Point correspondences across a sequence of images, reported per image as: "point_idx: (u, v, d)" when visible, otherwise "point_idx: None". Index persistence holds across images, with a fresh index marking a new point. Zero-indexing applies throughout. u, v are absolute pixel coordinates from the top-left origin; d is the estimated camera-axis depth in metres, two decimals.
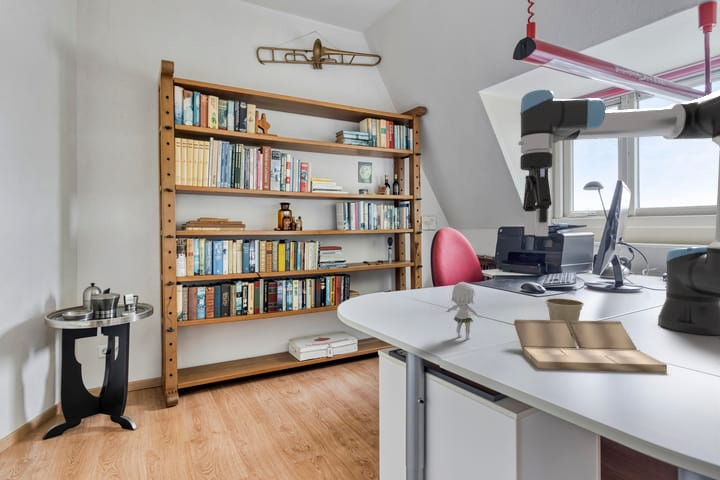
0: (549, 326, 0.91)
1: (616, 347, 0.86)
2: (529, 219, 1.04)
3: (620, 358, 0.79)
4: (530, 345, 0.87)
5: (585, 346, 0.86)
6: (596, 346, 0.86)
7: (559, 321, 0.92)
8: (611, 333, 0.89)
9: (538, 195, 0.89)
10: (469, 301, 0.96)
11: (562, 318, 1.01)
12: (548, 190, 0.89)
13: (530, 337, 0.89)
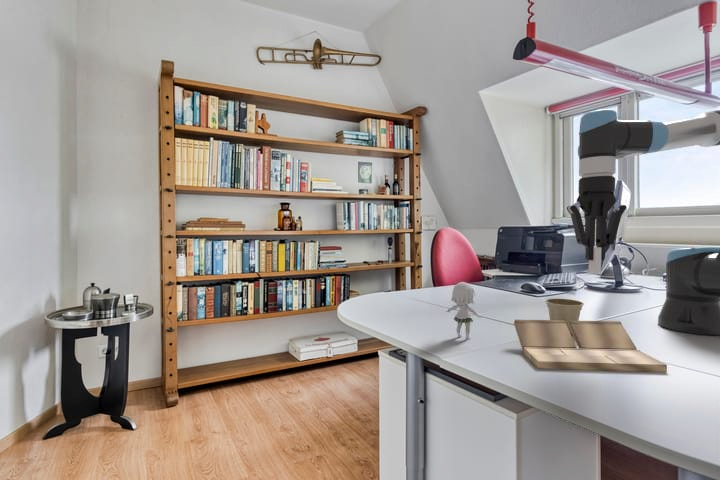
0: (549, 326, 0.91)
1: (616, 347, 0.86)
2: None
3: (620, 358, 0.79)
4: (530, 345, 0.87)
5: (585, 346, 0.86)
6: (596, 346, 0.86)
7: (559, 321, 0.92)
8: (611, 333, 0.89)
9: None
10: (469, 301, 0.96)
11: (562, 318, 1.01)
12: (578, 229, 0.91)
13: (530, 337, 0.89)
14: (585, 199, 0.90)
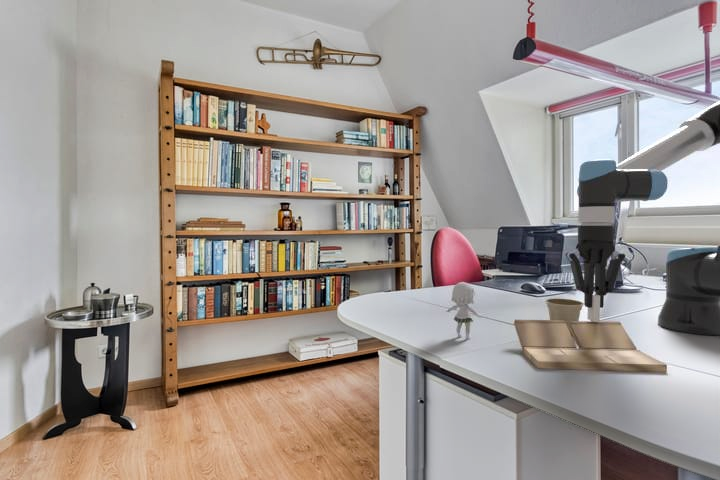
0: (549, 326, 0.91)
1: (616, 347, 0.86)
2: None
3: (620, 358, 0.79)
4: (530, 345, 0.87)
5: (585, 346, 0.86)
6: (596, 346, 0.86)
7: (559, 321, 0.92)
8: (611, 333, 0.89)
9: None
10: (469, 301, 0.96)
11: (562, 318, 1.01)
12: (577, 277, 0.91)
13: (530, 337, 0.89)
14: (584, 247, 0.91)
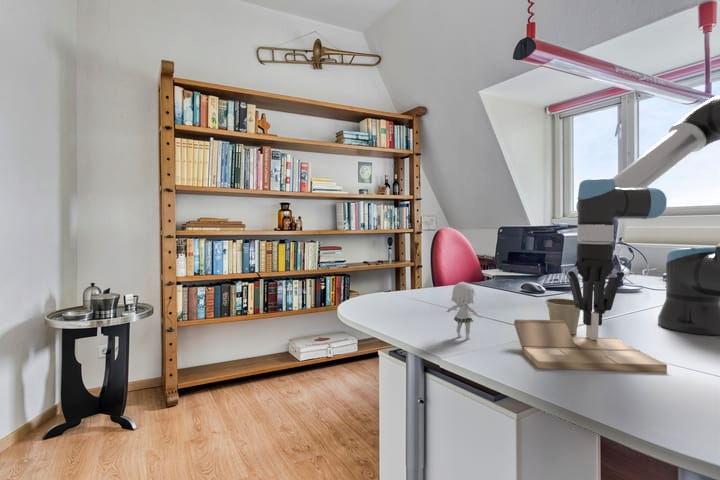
0: (549, 326, 0.91)
1: (616, 348, 0.86)
2: None
3: (620, 358, 0.79)
4: (530, 345, 0.87)
5: (585, 348, 0.86)
6: (596, 348, 0.86)
7: (559, 321, 0.92)
8: (609, 342, 0.89)
9: None
10: (469, 301, 0.96)
11: (562, 318, 1.01)
12: (576, 295, 0.91)
13: (530, 337, 0.89)
14: (583, 265, 0.91)
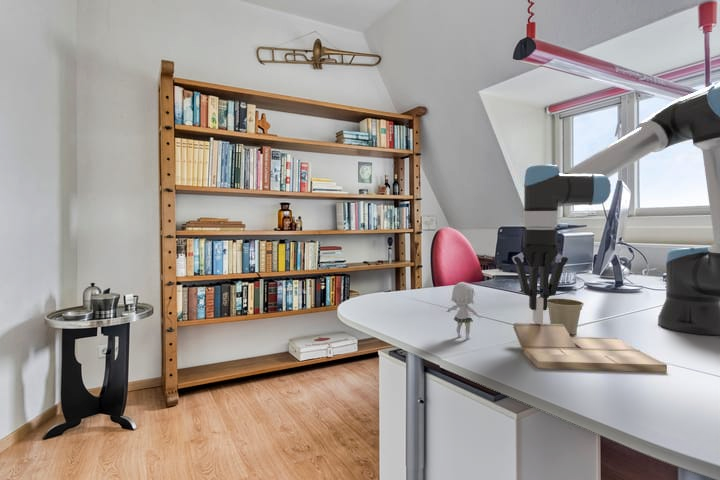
0: (548, 328, 0.92)
1: (616, 348, 0.86)
2: None
3: (620, 358, 0.79)
4: (530, 345, 0.87)
5: (585, 348, 0.86)
6: (596, 348, 0.86)
7: (558, 324, 0.93)
8: (609, 342, 0.89)
9: None
10: (469, 301, 0.96)
11: (562, 318, 1.01)
12: (521, 280, 0.93)
13: (530, 338, 0.89)
14: (528, 251, 0.92)
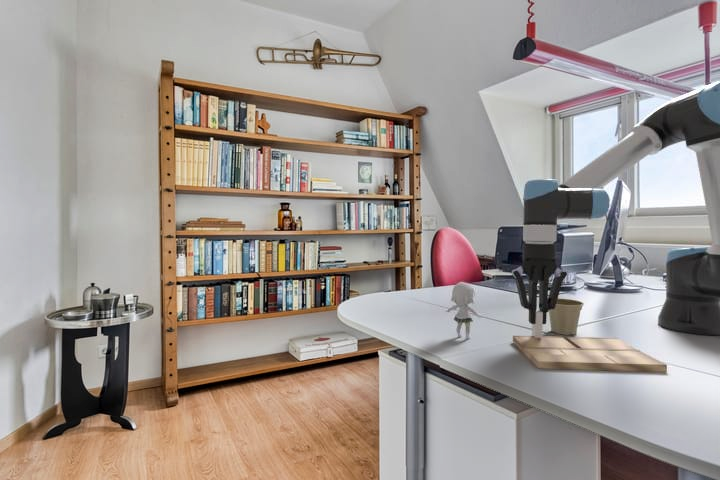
0: (547, 338, 0.93)
1: (616, 348, 0.86)
2: None
3: (620, 358, 0.79)
4: (530, 346, 0.87)
5: (585, 348, 0.86)
6: (596, 348, 0.86)
7: (556, 336, 0.94)
8: (609, 342, 0.89)
9: None
10: (469, 301, 0.96)
11: (562, 318, 1.01)
12: (520, 294, 0.93)
13: (529, 343, 0.90)
14: (527, 265, 0.92)
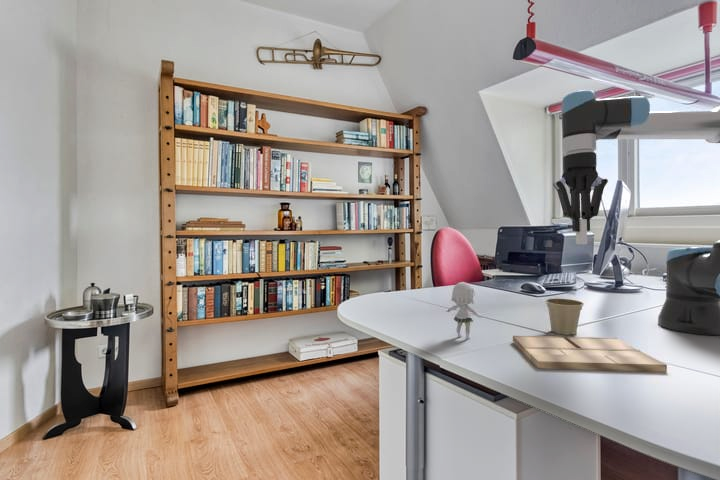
0: (547, 338, 0.93)
1: (616, 348, 0.86)
2: None
3: (620, 358, 0.79)
4: (530, 346, 0.87)
5: (585, 348, 0.86)
6: (596, 348, 0.86)
7: None
8: (609, 342, 0.89)
9: None
10: (469, 301, 0.96)
11: (562, 318, 1.01)
12: (564, 203, 0.97)
13: (529, 343, 0.90)
14: (569, 175, 0.97)
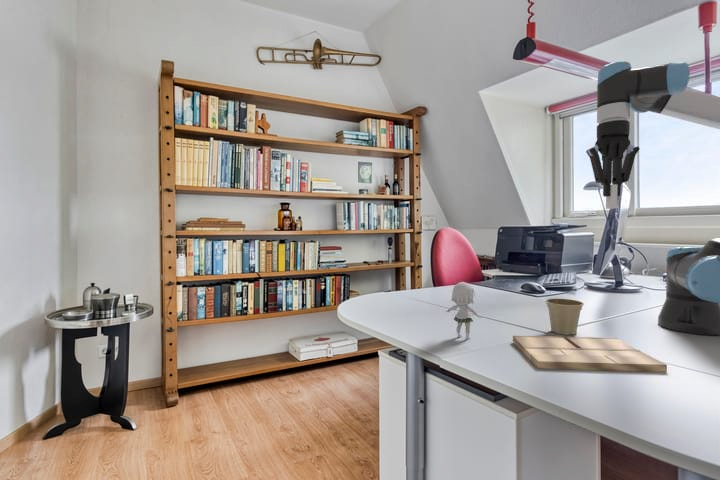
0: (547, 338, 0.93)
1: (616, 348, 0.86)
2: None
3: (620, 358, 0.79)
4: (530, 346, 0.87)
5: (585, 348, 0.86)
6: (596, 348, 0.86)
7: None
8: (609, 342, 0.89)
9: None
10: (469, 301, 0.96)
11: (562, 318, 1.01)
12: (597, 169, 1.03)
13: (529, 343, 0.90)
14: (603, 142, 1.02)
